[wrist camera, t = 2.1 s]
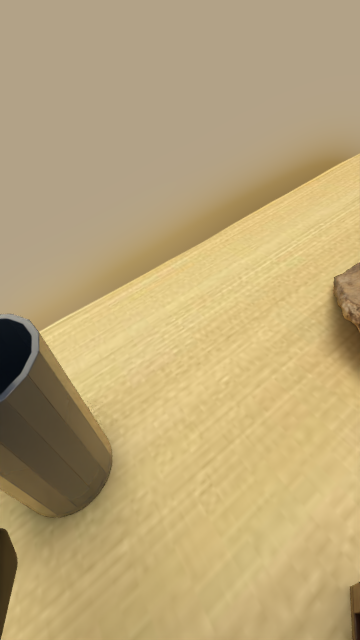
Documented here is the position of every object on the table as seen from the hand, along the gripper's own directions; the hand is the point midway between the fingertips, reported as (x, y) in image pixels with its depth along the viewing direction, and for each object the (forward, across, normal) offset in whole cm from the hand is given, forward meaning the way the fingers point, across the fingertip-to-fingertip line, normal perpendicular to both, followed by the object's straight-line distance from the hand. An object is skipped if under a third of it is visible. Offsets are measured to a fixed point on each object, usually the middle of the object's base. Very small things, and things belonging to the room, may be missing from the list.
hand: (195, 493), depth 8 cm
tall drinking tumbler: (+16, +9, +8) cm, 20 cm away
